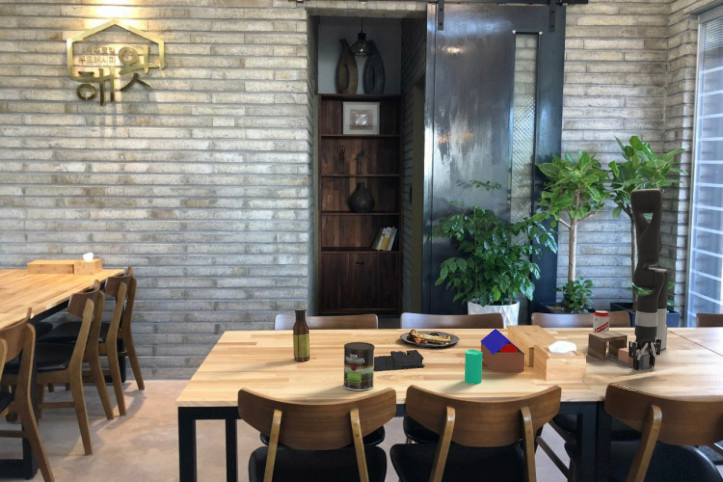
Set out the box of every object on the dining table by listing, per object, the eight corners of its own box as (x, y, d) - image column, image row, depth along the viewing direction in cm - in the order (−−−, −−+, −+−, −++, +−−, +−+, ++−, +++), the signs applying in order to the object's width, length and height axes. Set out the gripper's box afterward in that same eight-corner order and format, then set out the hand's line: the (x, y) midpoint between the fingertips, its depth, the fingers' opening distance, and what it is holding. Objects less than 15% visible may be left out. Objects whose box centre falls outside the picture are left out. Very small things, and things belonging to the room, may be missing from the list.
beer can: (609, 351, 277) (611, 313, 275) (593, 350, 278) (594, 312, 276) (606, 347, 283) (608, 310, 281) (591, 347, 284) (592, 309, 282)
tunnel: (610, 355, 271) (611, 330, 270) (626, 360, 264) (627, 335, 263) (587, 358, 266) (588, 333, 265) (602, 363, 259) (603, 338, 258)
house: (492, 372, 247) (493, 341, 246) (479, 357, 267) (480, 328, 266) (524, 372, 248) (526, 340, 247) (509, 357, 268) (510, 328, 266)
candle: (462, 378, 238) (463, 345, 237) (479, 378, 239) (480, 345, 238) (466, 384, 232) (467, 349, 231) (483, 383, 233) (484, 349, 232)
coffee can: (367, 393, 222) (368, 350, 221) (338, 389, 226) (339, 347, 224) (378, 384, 232) (378, 343, 230) (350, 380, 235) (350, 340, 234)
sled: (622, 360, 262) (623, 345, 261) (652, 370, 249) (653, 354, 248) (609, 362, 259) (609, 347, 259) (638, 372, 246) (639, 356, 245)
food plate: (392, 344, 284) (393, 336, 284) (409, 333, 306) (410, 325, 305) (450, 352, 275) (451, 344, 275) (464, 340, 296) (464, 332, 296)
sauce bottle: (312, 358, 262) (312, 308, 260) (306, 362, 256) (306, 311, 254) (297, 357, 264) (297, 306, 262) (290, 361, 258) (290, 309, 256)
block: (627, 360, 258) (628, 347, 258) (638, 363, 254) (638, 350, 253) (617, 361, 256) (618, 348, 256) (628, 365, 252) (628, 352, 251)
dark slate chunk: (360, 362, 260) (360, 350, 259) (413, 358, 266) (413, 346, 266) (373, 373, 245) (373, 360, 245) (429, 368, 252) (429, 356, 251)
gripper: (652, 319, 253) (650, 363, 255) (623, 322, 247) (621, 367, 249) (669, 323, 246) (666, 368, 248) (639, 327, 240) (637, 373, 242)
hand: (643, 367), depth 248 cm, fingers closed on sled, 6 cm apart
